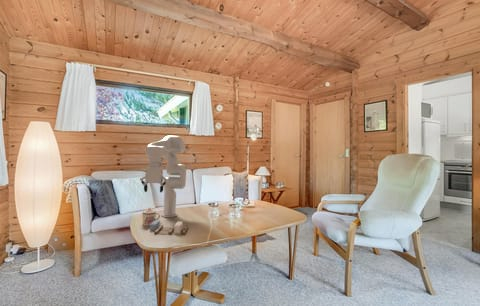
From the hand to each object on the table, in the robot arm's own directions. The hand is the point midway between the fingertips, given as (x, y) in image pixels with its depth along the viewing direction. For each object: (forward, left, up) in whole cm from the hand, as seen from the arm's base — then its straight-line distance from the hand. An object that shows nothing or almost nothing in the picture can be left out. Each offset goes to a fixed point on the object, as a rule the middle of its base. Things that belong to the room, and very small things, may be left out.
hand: (153, 191), depth 152 cm
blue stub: (-7, 0, -27) cm, 27 cm away
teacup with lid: (-19, -7, -27) cm, 33 cm away
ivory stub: (-2, +16, -25) cm, 30 cm away
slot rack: (-2, +12, -26) cm, 29 cm away
